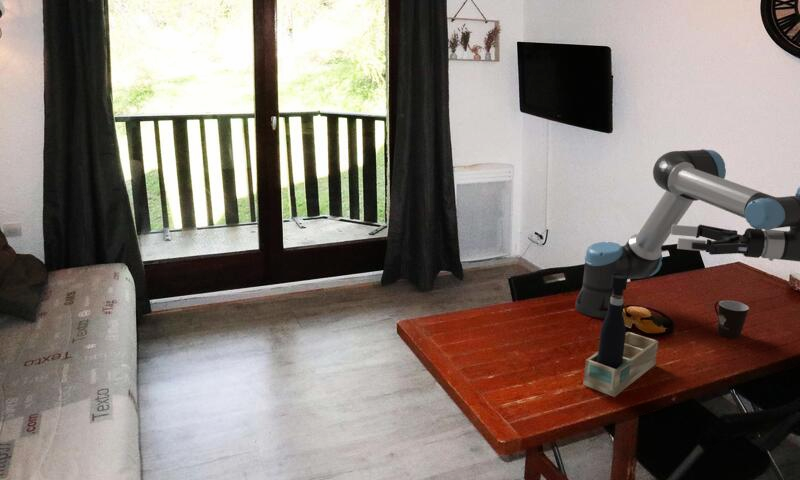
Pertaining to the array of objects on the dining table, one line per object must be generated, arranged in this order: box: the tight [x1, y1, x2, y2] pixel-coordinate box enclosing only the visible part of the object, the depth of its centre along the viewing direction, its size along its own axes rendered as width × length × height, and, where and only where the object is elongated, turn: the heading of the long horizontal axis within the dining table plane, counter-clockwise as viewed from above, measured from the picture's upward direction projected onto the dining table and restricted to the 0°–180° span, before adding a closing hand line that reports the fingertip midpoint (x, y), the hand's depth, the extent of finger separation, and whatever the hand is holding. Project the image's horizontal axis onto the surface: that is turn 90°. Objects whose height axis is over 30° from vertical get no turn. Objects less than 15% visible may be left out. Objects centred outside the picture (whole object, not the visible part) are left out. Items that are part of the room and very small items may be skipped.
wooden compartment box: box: [582, 331, 659, 398], centre depth 186 cm, size 9×26×8 cm, turn 137°
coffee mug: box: [714, 300, 750, 340], centre depth 215 cm, size 12×9×10 cm
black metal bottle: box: [597, 274, 628, 369], centre depth 177 cm, size 6×6×30 cm
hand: (674, 236), depth 179 cm, fingers open, 13 cm apart
